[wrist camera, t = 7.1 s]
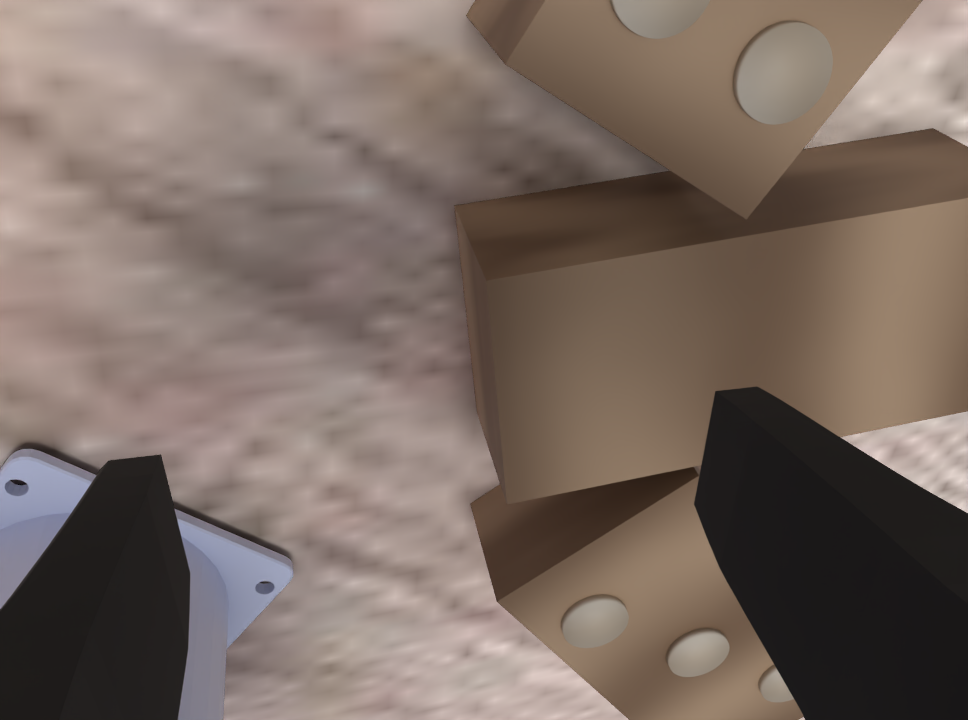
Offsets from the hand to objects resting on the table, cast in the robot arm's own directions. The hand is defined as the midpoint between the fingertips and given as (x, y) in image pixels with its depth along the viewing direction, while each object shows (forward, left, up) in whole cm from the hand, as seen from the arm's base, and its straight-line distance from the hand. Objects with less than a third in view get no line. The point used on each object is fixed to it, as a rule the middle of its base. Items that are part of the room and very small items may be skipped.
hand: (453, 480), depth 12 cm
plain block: (+3, -8, -10) cm, 13 cm away
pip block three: (-5, -15, -10) cm, 18 cm away
